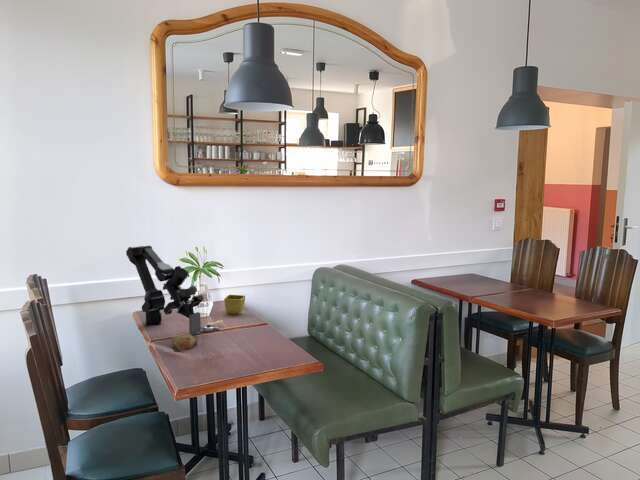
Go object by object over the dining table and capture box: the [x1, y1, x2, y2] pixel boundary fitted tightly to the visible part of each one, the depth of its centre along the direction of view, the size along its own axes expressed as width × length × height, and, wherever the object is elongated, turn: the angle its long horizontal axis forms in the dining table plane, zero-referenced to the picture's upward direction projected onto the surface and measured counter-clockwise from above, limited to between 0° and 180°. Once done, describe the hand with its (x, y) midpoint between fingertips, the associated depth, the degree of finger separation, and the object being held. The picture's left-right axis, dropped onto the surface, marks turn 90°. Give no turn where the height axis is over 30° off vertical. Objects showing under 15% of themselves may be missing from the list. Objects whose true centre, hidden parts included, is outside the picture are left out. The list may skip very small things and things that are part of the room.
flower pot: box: [223, 294, 246, 315], centre depth 252 cm, size 9×9×9 cm
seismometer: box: [188, 312, 224, 337], centre depth 223 cm, size 19×9×9 cm, turn 146°
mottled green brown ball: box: [171, 333, 198, 353], centre depth 203 cm, size 10×10×8 cm
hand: (194, 319), depth 218 cm, fingers closed, pressing on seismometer
